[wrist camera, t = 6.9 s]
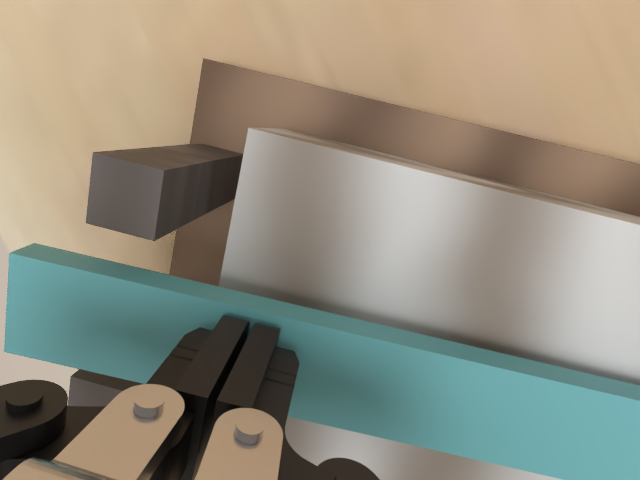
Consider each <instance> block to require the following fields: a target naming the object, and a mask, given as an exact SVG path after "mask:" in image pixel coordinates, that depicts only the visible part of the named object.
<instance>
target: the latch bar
mask: <svg viewBox="0 0 640 480" xmlns="http://www.w3.org/2000/svg"><path fill="white" fill-rule="evenodd" d="M6 311H7V312H6V329H5V348H4V352H7V353H12V354H17V355H21V356H25V357H29V358H34V359H38V360H42V361H47V362H51V363H56V364H60V365H64V366H69V367H73V368H77V369H82V370H86V371H90V372H95V373H99V374H104V375H108V376H112V377H117V378H121V379H125V380H130V381H134V382H139V383H143V384H146V383H147V382H148V380H149V379H150V378H151V377H152V375H153V374H154V373H155V372H156V370H157V369H158V368H159V367H160V365H161V364H162V363H163V362H164V360H165V359H166V358H167V356H169V355H170V353H171V351H172V350H173V349H174V348H175V347H176V346H177V344H178V343H179V341H180V340H181V339H182V338H183V336H184V335H185V334H187V333H189V332H191V331H193V330H195V329H197V328H199V327H201V328H205V329H209V330H213V329H214V328H215V326H216V325H217V323H218V322H219V320H220V319H221V317H222V316H223V315H228V316H231V317H235V318H239V319H243V320H247V321H249V322H250V324H249V330H248V335H247V338H248V336H249V334H250V332H251V330H252V328H253V326H254V324H255V323H260V324H264V325H268V326H272V327H276V328H280V329H281V331H280V336H279V340H278V344H277V347H281V348H285V349H289V350H293V351H295V353H296V356H297V358H298V360H299V363H300V364H299V368H298V372H297V377H296V381H295V386H294V390H293V394H292V399H291V403H290V407H289V412H288V416H287V417H292V418H296V419H300V420H305V421H309V422H313V423H318V424H322V425H327V426H331V427H335V428H340V429H344V430H348V431H353V432H357V433H362V434H366V435H370V436H375V437H379V438H383V439H388V440H392V441H397V442H401V443H405V444H410V445H414V446H418V447H423V448H427V449H432V450H436V451H440V452H445V453H449V454H453V455H458V456H462V457H467V458H471V459H475V460H480V461H484V462H488V463H493V464H497V465H502V466H506V467H510V468H515V469H519V470H523V471H528V472H532V473H536V474H541V475H545V476H550V477H554V478H558V479H563V480H640V386H639V385H635V384H631V383H627V382H622V381H618V380H614V379H610V378H605V377H601V376H597V375H593V374H588V373H584V372H580V371H576V370H571V369H567V368H563V367H559V366H554V365H550V364H546V363H542V362H537V361H533V360H529V359H525V358H520V357H516V356H512V355H508V354H503V353H499V352H495V351H491V350H486V349H482V348H478V347H474V346H469V345H465V344H461V343H457V342H452V341H448V340H444V339H440V338H435V337H431V336H427V335H423V334H418V333H414V332H410V331H406V330H401V329H397V328H393V327H389V326H384V325H380V324H376V323H372V322H367V321H363V320H359V319H355V318H350V317H346V316H342V315H338V314H333V313H329V312H325V311H321V310H316V309H312V308H308V307H304V306H299V305H295V304H291V303H287V302H282V301H278V300H274V299H270V298H265V297H261V296H257V295H253V294H248V293H244V292H240V291H235V290H231V289H227V288H223V287H218V286H214V285H210V284H206V283H201V282H197V281H193V280H189V279H184V278H180V277H176V276H172V275H167V274H163V273H159V272H155V271H150V270H146V269H142V268H138V267H133V266H129V265H125V264H121V263H116V262H112V261H108V260H104V259H99V258H95V257H91V256H87V255H82V254H78V253H74V252H70V251H65V250H61V249H57V248H53V247H48V246H44V245H40V244H36V243H34V244H31V245H29V246H26V247H24V248H21V249H19V250H16V251H14V252H11V253H9V272H8V290H7V309H6Z"/></svg>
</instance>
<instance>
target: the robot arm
mask: <svg viewBox="0 0 640 480" xmlns="http://www.w3.org/2000/svg"><path fill="white" fill-rule="evenodd" d="M249 324H250V322H249V321H247V320H243V319H239V318H235V317H231V316H228V315H223V316H222V317H221V319H220V320H219V322H218V323H217V325H216V326H215V328H214V329H213V330H209V329H205V328H201V327H199V328H197V329H195V330H193V331H191V332H189V333H187V334H185V335H184V336H183V338H182V339H181V340H180V341H179V343H178V344H177V346H176V347H175V348H174V349H173V350H172V351H171V353H170V355H169V356H167V358H166V359H165V360H164V362H163V363H162V364H161V365H160V367H159V368H158V369H157V370H156V372H155V373H154V374H153V375H152V377H151V378H150V379H149V380H148V382H147V383H146V384H143V385H137V386H133V387H130V388H128V389H126V390H124V391H122V392H121V393H119V394H118V395H117V396H116V397H115V398H114V399H113V400H112V401H111V402H110V403H109V404H108V405H107V406H67V400H68V397H67V394H66V391H65V390H64V389H63V388H62V387H61V386H59V385H57V384H55V383H53V382H49V381H44V380H25V381H18V382H14V383H10V384H6V385H2V386H0V480H380V479H379V478H378V477H377V476H376V475H375V474H374V473H373V472H372V471H371V470H370V469H369V468H368V467H366V466H364V465H363V464H361V463H359V462H357V461H354V460H351V459H347V458H331V459H327V460H325V461H323V462H322V463H320V464H319V465H318V466H316V465H314V464H313V463H311V462H309V461H307V460H306V459H304V458H302V457H301V456H300V455H299V454H297V453H296V452H295V451H294V450H293V449H292V447H291V446H290V444H289V443H288V441H287V438H286V435H285V425H286V421H287V416H288V412H289V407H290V403H291V399H292V394H293V390H294V386H295V381H296V377H297V372H298V368H299V364H300V363H299V360H298V358H297V356H296V353H295V351H293V350H289V349H285V348H281V347H277V344H278V340H279V336H280V331H281V329H280V328H276V327H272V326H268V325H264V324H260V323H255V324H254V326H253V328H252V330H251V332H250V334H249V336H248V338H247V335H248V330H249ZM196 475H197V476H196ZM195 477H196V478H195Z"/></svg>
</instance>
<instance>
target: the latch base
mask: <svg viewBox="0 0 640 480" xmlns="http://www.w3.org/2000/svg"><path fill="white" fill-rule="evenodd" d="M86 223H88V224H91V225H95V226H99V227H103V228H107V229H110V230H114V231H118V232H122V233H126V234H130V235H133V236H137V237H141V238H145V239H149V240H152V241H155V240H157V239H159V238H161V237H163V236H164V235H166V234H168V233H170V232H172V231H174V230H176V229H177V231H176V237H175V243H174V250H173V256H172V263H171V269H170V275H172V276H176V277H180V278H184V279H189V280H193V281H197V282H201V283H206V284H210V285H214V286H218V287H223V288H227V289H231V290H235V291H240V292H244V293H248V294H253V295H257V296H261V297H265V298H270V299H274V300H278V301H282V302H287V303H291V304H295V305H299V306H304V307H308V308H312V309H316V310H321V311H325V312H329V313H333V314H338V315H342V316H346V317H350V318H355V319H359V320H363V321H367V322H372V323H376V324H380V325H384V326H389V327H393V328H397V329H401V330H406V331H410V332H414V333H418V334H423V335H427V336H431V337H435V338H440V339H444V340H448V341H452V342H457V343H461V344H465V345H469V346H474V347H478V348H482V349H486V350H491V351H495V352H499V353H503V354H508V355H512V356H516V357H520V358H525V359H529V360H533V361H537V362H542V363H546V364H550V365H554V366H559V367H563V368H567V369H571V370H576V371H580V372H584V373H588V374H593V375H597V376H601V377H605V378H610V379H614V380H618V381H622V382H627V383H631V384H635V385H639V386H640V164H636V163H632V162H627V161H623V160H619V159H615V158H611V157H607V156H603V155H599V154H594V153H590V152H586V151H582V150H578V149H574V148H570V147H566V146H562V145H557V144H553V143H549V142H545V141H541V140H537V139H533V138H529V137H525V136H520V135H516V134H512V133H508V132H504V131H500V130H496V129H492V128H488V127H483V126H479V125H475V124H471V123H467V122H463V121H459V120H455V119H451V118H446V117H442V116H438V115H434V114H430V113H426V112H422V111H418V110H414V109H409V108H405V107H401V106H397V105H393V104H389V103H385V102H381V101H376V100H372V99H368V98H364V97H360V96H356V95H352V94H348V93H344V92H339V91H335V90H331V89H327V88H323V87H319V86H315V85H311V84H307V83H302V82H298V81H294V80H290V79H286V78H282V77H278V76H274V75H270V74H265V73H261V72H257V71H253V70H249V69H245V68H241V67H237V66H233V65H228V64H224V63H220V62H216V61H212V60H208V59H204V58H203V63H202V70H201V76H200V83H199V89H198V95H197V102H196V108H195V115H194V121H193V128H192V134H191V140H190V144H189V145H177V146H164V147H152V148H140V149H127V150H115V151H103V152H93V157H92V167H91V177H90V187H89V197H88V207H87V217H86ZM137 385H143V383H139V382H134V381H130V380H125V379H121V378H117V377H112V376H108V375H104V374H99V373H95V372H90V371H86V370H82V369H79V370H78V371H77V372H76V373H74V374H73V375H72V376H71V380H70V390H69V400H68V406H107V405H108V404H109V403H110V402H111V401H112V400H113V399H114V398H115V397H116V396H117V395H118V394H119V393H121V392H122V391H124V390H126V389H128V388H130V387H133V386H137ZM285 435H286V438H287V441H288V443H289V444H290V446H291V447H292V449H293V450H294V451H295V452H296V453H297V454H299V455H300V456H301V457H302V458H304V459H306V460H307V461H309V462H311V463H313V464H314V465H316V466H318V465H319V464H320V463H322V462H323V461H325V460H327V459H331V458H347V459H351V460H354V461H357V462H359V463H361V464H363V465H364V466H366V467H368V468H369V469H370V470H371V471H372V472H373V473H374V474H375V475H376V476H377V477H378V478H379V479H380V480H563V479H558V478H554V477H550V476H545V475H541V474H536V473H532V472H528V471H523V470H519V469H515V468H510V467H506V466H502V465H497V464H493V463H488V462H484V461H480V460H475V459H471V458H467V457H462V456H458V455H453V454H449V453H445V452H440V451H436V450H432V449H427V448H423V447H418V446H414V445H410V444H405V443H401V442H397V441H392V440H388V439H383V438H379V437H375V436H370V435H366V434H362V433H357V432H353V431H348V430H344V429H340V428H335V427H331V426H327V425H322V424H318V423H313V422H309V421H305V420H300V419H296V418H292V417H287V421H286V425H285Z"/></svg>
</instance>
